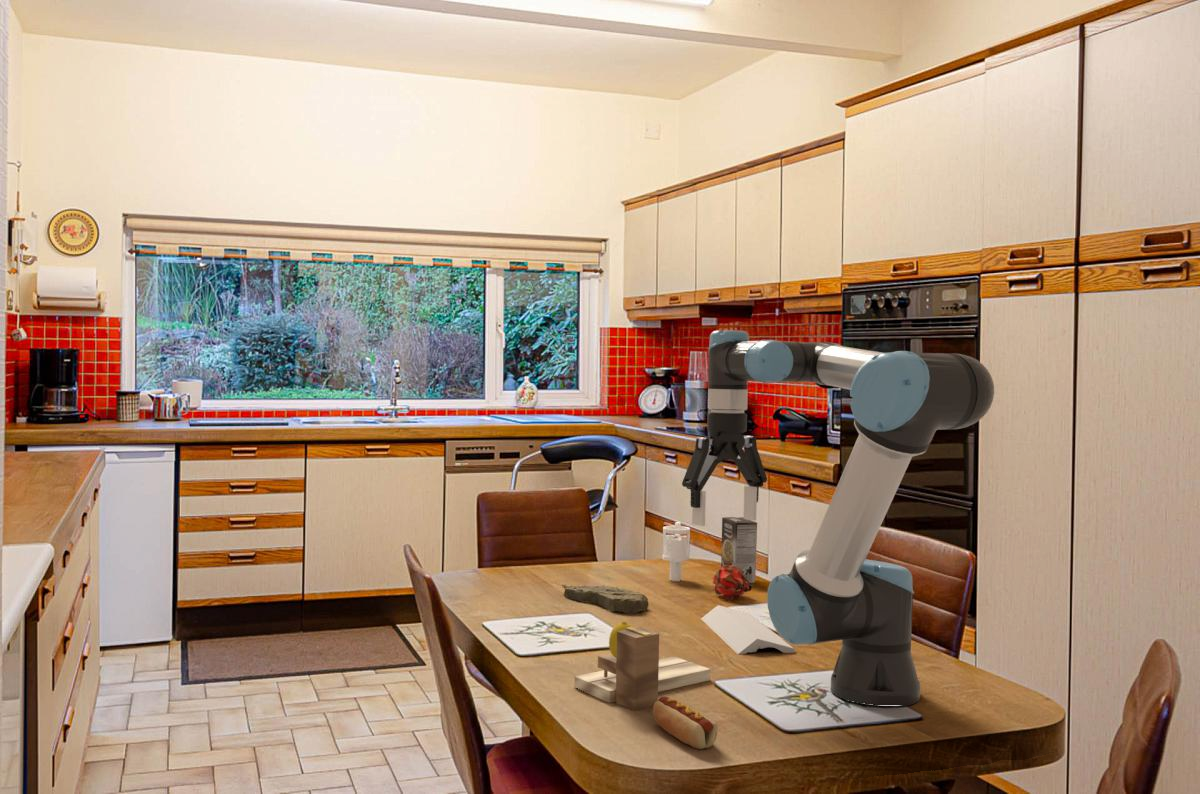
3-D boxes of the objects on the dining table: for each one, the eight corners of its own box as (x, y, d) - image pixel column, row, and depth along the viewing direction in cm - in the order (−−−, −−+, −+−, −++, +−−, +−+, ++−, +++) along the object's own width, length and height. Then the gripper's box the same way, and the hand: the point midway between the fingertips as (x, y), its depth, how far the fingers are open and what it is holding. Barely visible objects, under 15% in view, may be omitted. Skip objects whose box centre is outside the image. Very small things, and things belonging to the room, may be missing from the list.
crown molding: (797, 655, 210) (797, 637, 210) (737, 657, 208) (738, 639, 208) (752, 620, 239) (752, 604, 239) (699, 621, 237) (700, 605, 237)
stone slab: (665, 606, 246) (662, 586, 245) (629, 623, 238) (626, 602, 237) (587, 592, 265) (584, 573, 265) (551, 607, 257) (548, 587, 256)
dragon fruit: (723, 597, 266) (741, 615, 254) (699, 579, 263) (716, 596, 252) (744, 570, 266) (763, 587, 255) (720, 552, 263) (738, 568, 252)
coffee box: (719, 576, 284) (721, 517, 284) (741, 575, 286) (743, 516, 285) (733, 583, 275) (735, 522, 275) (756, 582, 277) (758, 521, 277)
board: (710, 680, 190) (710, 668, 190) (609, 702, 176) (609, 690, 176) (673, 666, 198) (673, 655, 198) (574, 687, 184) (574, 675, 184)
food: (725, 750, 156) (725, 716, 156) (693, 756, 154) (694, 722, 154) (675, 721, 169) (676, 690, 168) (645, 726, 166) (646, 694, 166)
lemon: (628, 669, 196) (629, 626, 196) (603, 664, 199) (603, 622, 199) (643, 662, 201) (644, 620, 201) (618, 657, 204) (619, 616, 204)
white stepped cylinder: (690, 578, 281) (691, 522, 281) (686, 583, 274) (687, 526, 274) (664, 576, 283) (665, 520, 282) (659, 581, 276) (661, 524, 275)
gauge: (658, 705, 176) (659, 631, 175) (634, 710, 173) (636, 636, 172) (613, 686, 185) (614, 617, 185) (590, 691, 182) (591, 621, 182)
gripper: (758, 409, 212) (756, 515, 213) (664, 411, 197) (662, 524, 198) (786, 411, 206) (784, 519, 207) (692, 413, 191) (689, 530, 192)
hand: (724, 522), depth 202 cm, fingers open, 13 cm apart
